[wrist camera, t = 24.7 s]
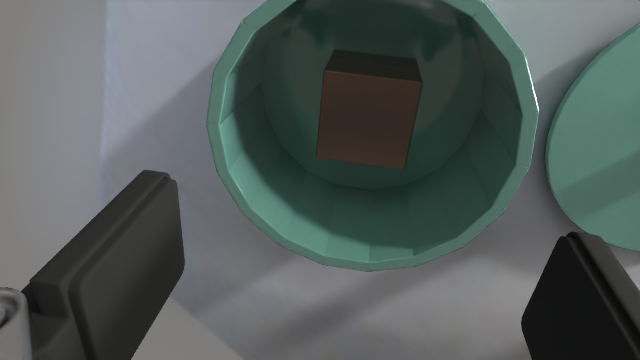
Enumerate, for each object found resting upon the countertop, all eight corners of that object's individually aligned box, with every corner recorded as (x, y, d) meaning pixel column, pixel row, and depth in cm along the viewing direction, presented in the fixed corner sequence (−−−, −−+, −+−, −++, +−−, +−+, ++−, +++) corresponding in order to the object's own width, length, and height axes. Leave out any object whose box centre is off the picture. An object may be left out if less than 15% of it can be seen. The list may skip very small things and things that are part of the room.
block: (333, 49, 23) (323, 69, 19) (416, 58, 22) (423, 81, 19) (326, 126, 25) (315, 158, 21) (401, 135, 25) (405, 170, 21)
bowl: (254, -54, 21) (197, -54, 15) (528, -26, 20) (596, -13, 14) (252, 177, 28) (211, 248, 21) (460, 206, 27) (485, 290, 20)
